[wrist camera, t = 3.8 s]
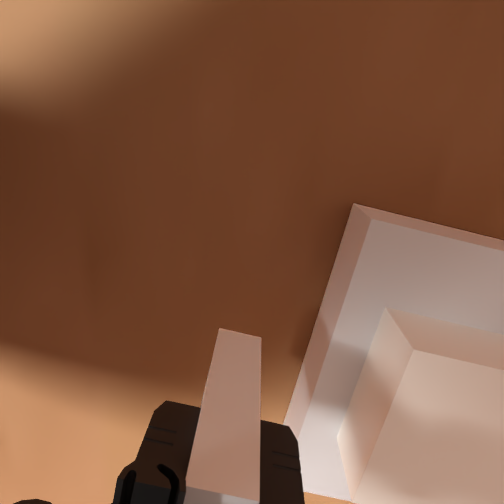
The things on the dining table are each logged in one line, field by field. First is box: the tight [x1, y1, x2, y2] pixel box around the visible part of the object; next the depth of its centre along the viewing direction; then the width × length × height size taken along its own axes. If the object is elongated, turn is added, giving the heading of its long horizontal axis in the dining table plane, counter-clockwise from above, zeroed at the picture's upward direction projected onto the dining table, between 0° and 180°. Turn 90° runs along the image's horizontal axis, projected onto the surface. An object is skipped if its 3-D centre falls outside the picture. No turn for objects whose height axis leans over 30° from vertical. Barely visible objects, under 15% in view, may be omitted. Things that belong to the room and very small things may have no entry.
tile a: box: [337, 307, 504, 504], centre depth 15 cm, size 6×6×3 cm
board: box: [283, 203, 504, 502], centre depth 18 cm, size 16×12×3 cm
